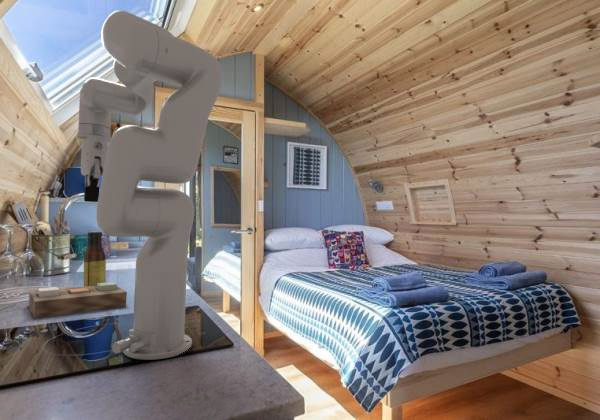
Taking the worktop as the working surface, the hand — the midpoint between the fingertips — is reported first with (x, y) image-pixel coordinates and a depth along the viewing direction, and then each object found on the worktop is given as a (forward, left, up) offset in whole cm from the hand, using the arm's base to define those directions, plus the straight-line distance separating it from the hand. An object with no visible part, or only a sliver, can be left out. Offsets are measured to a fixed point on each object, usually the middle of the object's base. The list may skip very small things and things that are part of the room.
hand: (91, 201), depth 97 cm
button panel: (+2, +5, -29) cm, 30 cm away
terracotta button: (+2, +5, -28) cm, 28 cm away
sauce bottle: (+16, +16, -29) cm, 37 cm away
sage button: (+8, +2, -27) cm, 28 cm away
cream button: (-4, +9, -27) cm, 28 cm away
